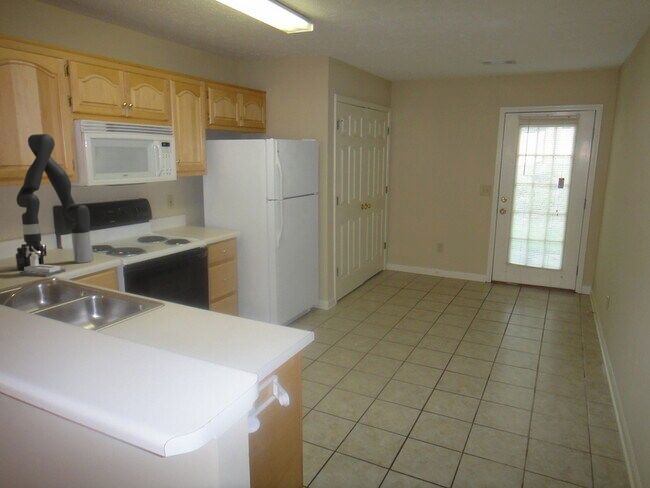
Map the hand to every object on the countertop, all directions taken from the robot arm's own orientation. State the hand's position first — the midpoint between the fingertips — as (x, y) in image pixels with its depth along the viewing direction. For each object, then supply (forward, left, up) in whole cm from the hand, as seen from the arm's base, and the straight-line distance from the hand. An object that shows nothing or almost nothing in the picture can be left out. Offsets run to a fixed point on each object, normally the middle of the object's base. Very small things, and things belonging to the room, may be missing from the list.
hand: (35, 263), depth 234 cm
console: (0, +4, -5) cm, 6 cm away
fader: (0, 0, -3) cm, 3 cm away
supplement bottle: (-5, -14, -5) cm, 16 cm away
